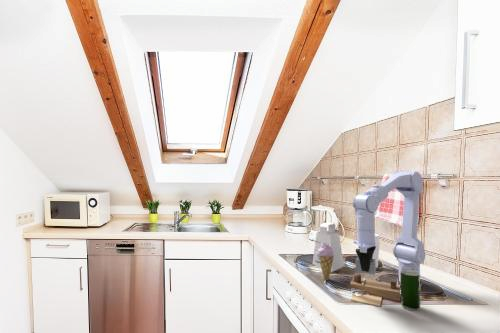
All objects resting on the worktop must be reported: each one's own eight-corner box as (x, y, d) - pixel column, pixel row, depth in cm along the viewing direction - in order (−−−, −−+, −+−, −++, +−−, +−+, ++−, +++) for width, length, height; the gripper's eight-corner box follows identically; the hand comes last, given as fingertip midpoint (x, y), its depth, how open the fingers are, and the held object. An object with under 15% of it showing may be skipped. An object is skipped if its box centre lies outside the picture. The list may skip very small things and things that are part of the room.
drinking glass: (367, 263, 133) (367, 232, 134) (382, 267, 128) (381, 234, 129) (361, 266, 128) (360, 234, 129) (376, 270, 124) (375, 236, 124)
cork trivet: (354, 293, 100) (354, 291, 100) (381, 298, 95) (381, 297, 96) (351, 300, 94) (351, 299, 94) (380, 306, 89) (380, 305, 89)
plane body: (353, 285, 107) (353, 271, 107) (400, 293, 99) (399, 278, 100) (350, 291, 101) (350, 276, 101) (399, 301, 93) (399, 285, 93)
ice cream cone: (323, 283, 109) (323, 245, 109) (314, 278, 114) (313, 241, 115) (337, 280, 112) (336, 243, 112) (326, 275, 117) (326, 240, 118)
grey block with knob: (357, 267, 98) (357, 254, 99) (375, 270, 96) (375, 257, 96) (355, 271, 95) (355, 258, 95) (374, 274, 92) (374, 260, 92)
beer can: (404, 310, 87) (404, 272, 87) (398, 302, 92) (397, 266, 93) (423, 311, 86) (422, 273, 87) (415, 303, 92) (415, 267, 92)
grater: (312, 266, 130) (311, 223, 130) (324, 261, 137) (324, 221, 137) (332, 271, 122) (331, 226, 123) (344, 266, 129) (343, 223, 130)
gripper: (356, 224, 104) (357, 261, 103) (349, 231, 91) (350, 273, 91) (377, 226, 100) (377, 264, 100) (373, 234, 88) (373, 277, 87)
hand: (366, 268), depth 95 cm, fingers closed on grey block with knob, 4 cm apart
